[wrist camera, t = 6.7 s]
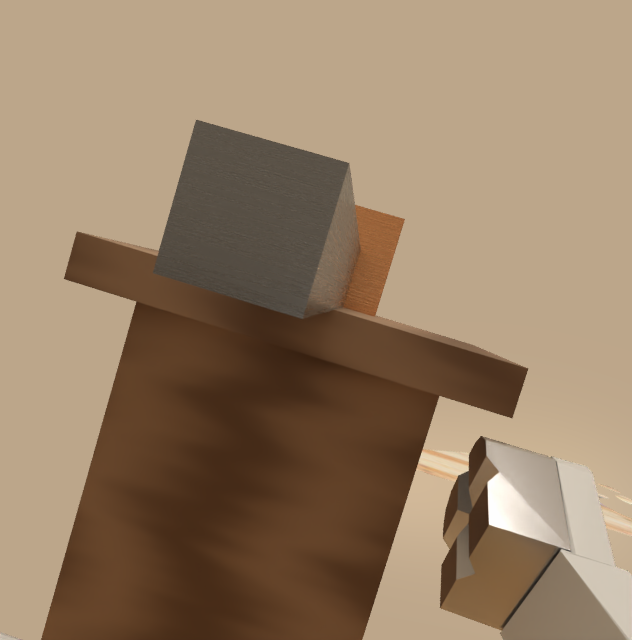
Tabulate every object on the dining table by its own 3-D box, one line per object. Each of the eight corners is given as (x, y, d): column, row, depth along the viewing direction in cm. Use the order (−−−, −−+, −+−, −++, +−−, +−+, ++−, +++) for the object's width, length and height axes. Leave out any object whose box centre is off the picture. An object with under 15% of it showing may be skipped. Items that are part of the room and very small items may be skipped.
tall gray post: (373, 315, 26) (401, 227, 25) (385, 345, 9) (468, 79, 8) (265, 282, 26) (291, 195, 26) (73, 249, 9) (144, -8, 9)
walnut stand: (303, 868, 28) (470, 344, 26) (268, 1185, 18) (532, 370, 16) (32, 764, 29) (177, 255, 27) (-145, 1010, 19) (68, 229, 17)
